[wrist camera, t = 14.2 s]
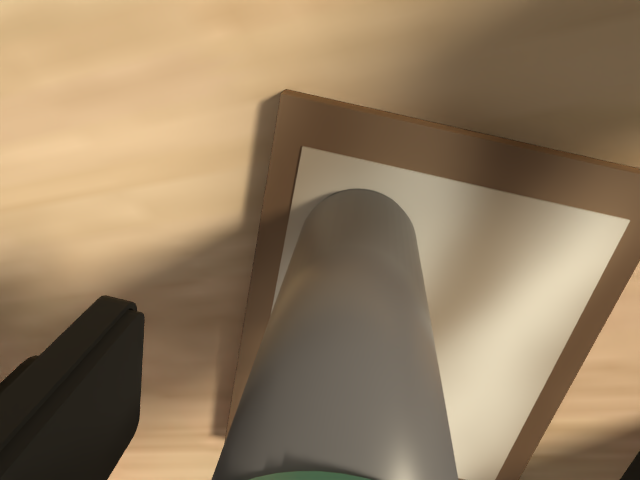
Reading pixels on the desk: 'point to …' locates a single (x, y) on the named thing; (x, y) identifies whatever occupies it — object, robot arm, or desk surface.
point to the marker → (346, 359)
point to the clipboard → (465, 257)
